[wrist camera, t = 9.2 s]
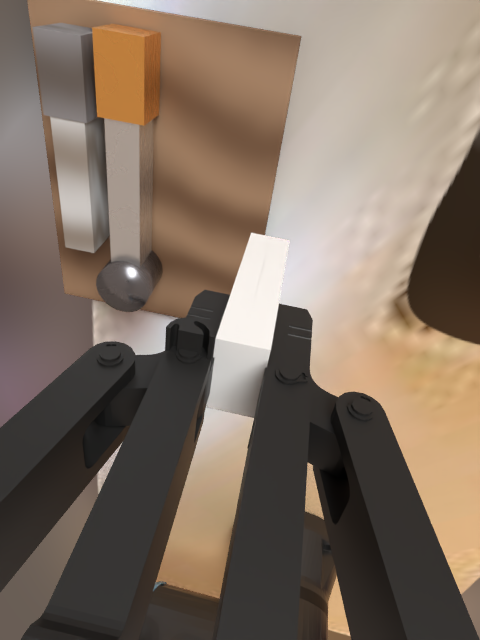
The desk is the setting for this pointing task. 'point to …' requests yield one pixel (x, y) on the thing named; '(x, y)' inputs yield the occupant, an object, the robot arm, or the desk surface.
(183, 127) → the board
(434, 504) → the desk surface
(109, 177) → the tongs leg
